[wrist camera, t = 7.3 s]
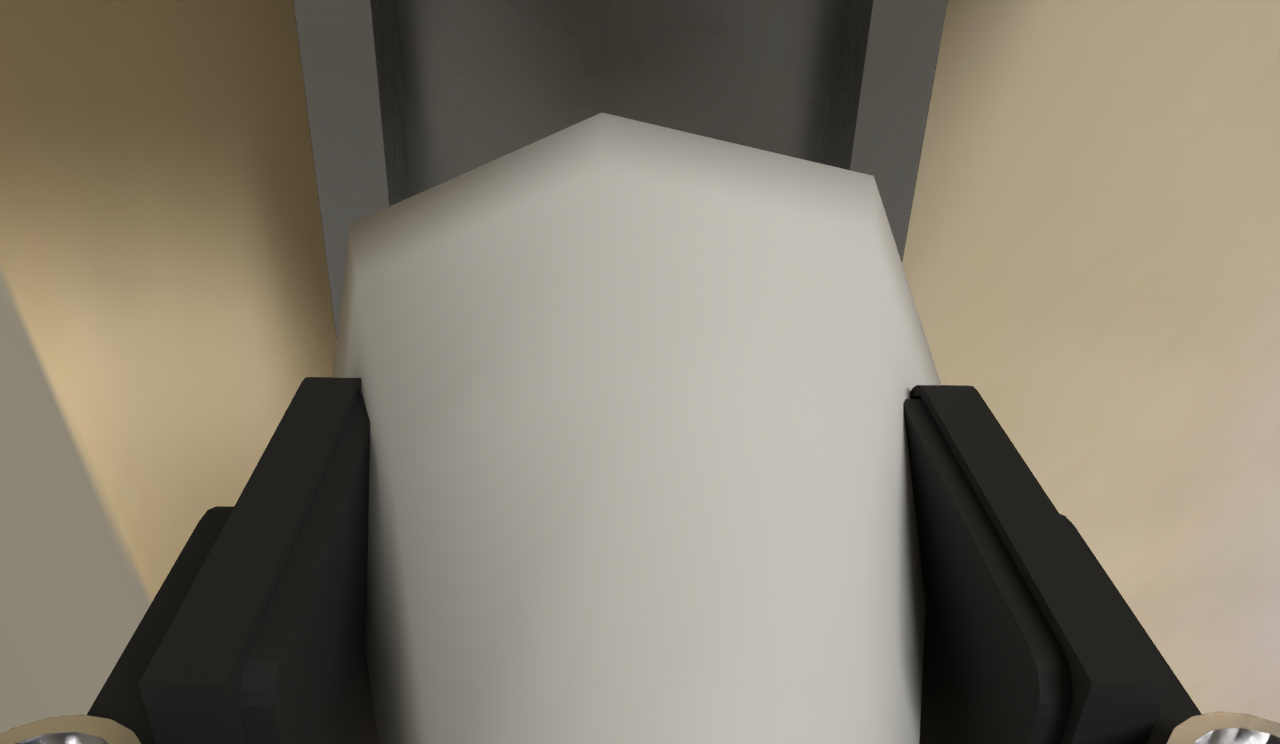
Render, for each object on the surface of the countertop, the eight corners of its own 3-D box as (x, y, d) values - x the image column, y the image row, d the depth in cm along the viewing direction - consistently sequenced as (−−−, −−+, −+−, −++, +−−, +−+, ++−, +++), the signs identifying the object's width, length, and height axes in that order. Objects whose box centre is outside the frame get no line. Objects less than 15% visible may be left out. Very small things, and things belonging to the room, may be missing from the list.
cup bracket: (1002, 356, 28) (1245, 675, 17) (208, 345, 27) (-48, 676, 16) (1156, -293, 20) (1740, -423, 10) (71, -341, 19) (-550, -544, 9)
